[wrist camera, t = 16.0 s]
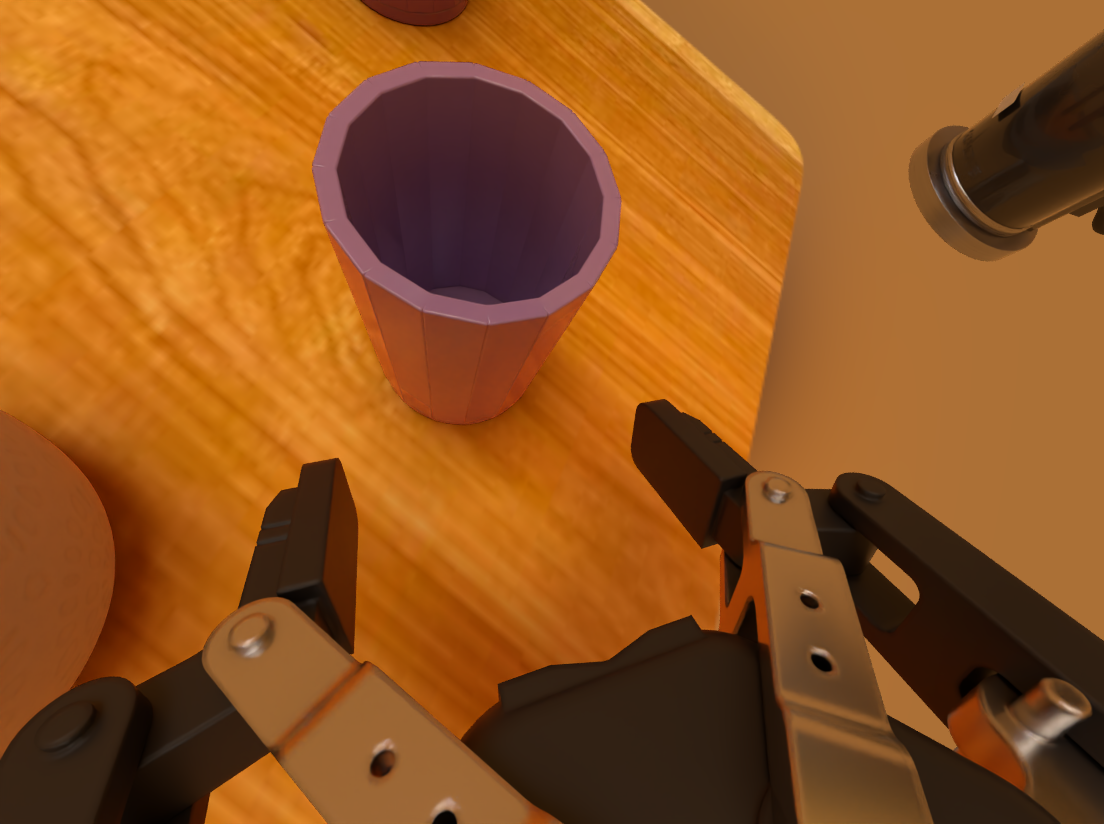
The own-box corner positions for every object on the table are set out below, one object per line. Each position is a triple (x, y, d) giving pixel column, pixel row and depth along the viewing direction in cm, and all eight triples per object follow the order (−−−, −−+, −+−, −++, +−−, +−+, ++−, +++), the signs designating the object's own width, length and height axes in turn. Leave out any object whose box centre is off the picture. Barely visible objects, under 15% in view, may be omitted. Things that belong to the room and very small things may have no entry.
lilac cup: (541, 302, 20) (628, 112, 11) (524, 435, 18) (610, 350, 9) (399, 270, 19) (355, 21, 9) (366, 411, 17) (273, 281, 8)
